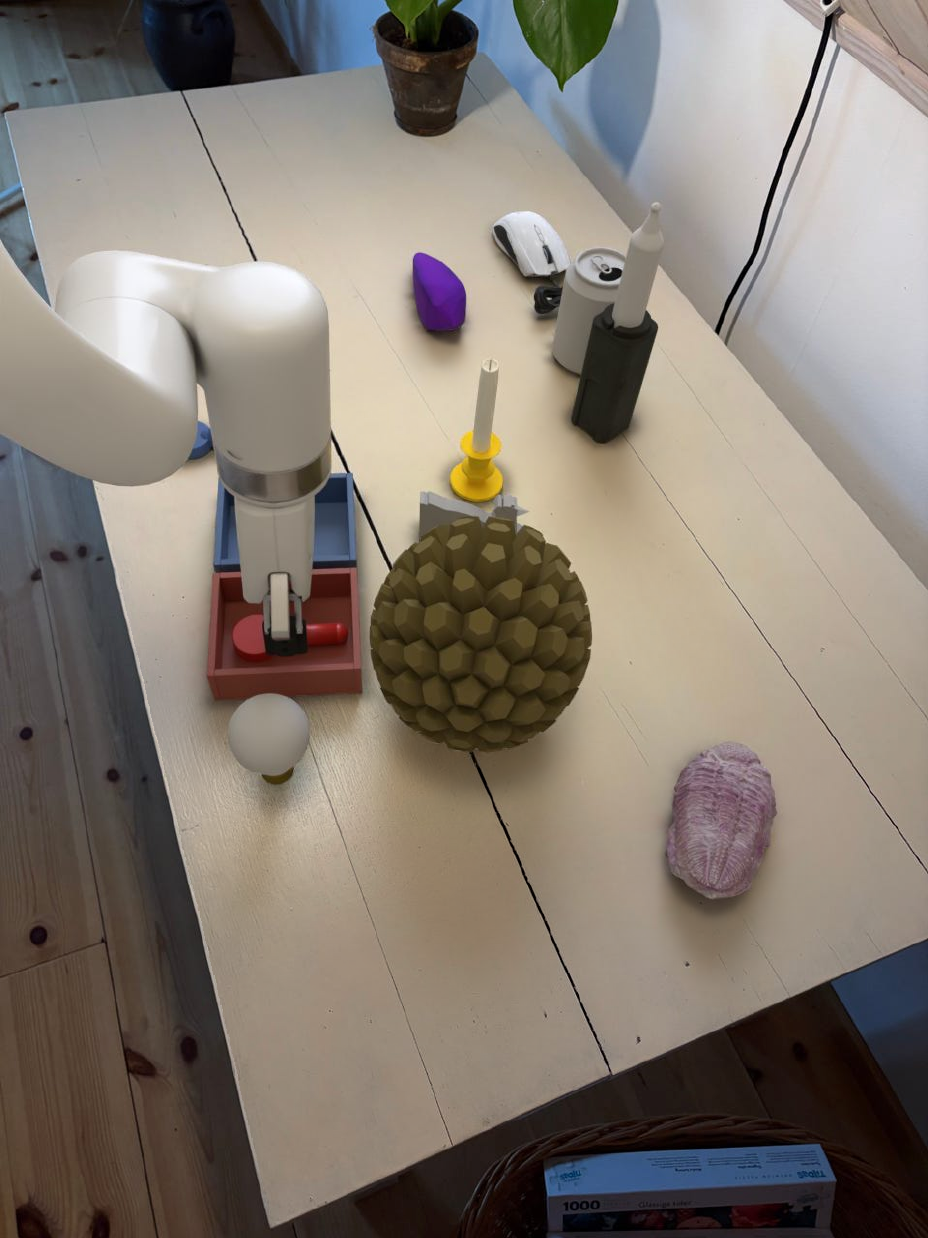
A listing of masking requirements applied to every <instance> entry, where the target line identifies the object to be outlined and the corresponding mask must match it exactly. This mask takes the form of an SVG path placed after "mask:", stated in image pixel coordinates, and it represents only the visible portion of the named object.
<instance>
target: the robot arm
mask: <svg viewBox="0 0 928 1238" xmlns="http://www.w3.org/2000/svg"><path fill="white" fill-rule="evenodd" d="M326 303H327V302H326V300H325V298H324V296H323V293H322V292H321V290H320V289H319V287H317V285H316V284H315V283H314V282H313V280H311V279H310V278H309V277H308V276H307V275H305V274H304V273H302V272H301V271H299V270H298V269H295V268H294V267H293V268H292V267H290V266H288V265H285V264H281V263H278V262H273V261H272V262H271V261H262V260H260V261H259V260H256V261H255V260H254V261H245V262H244V261H243V262H239V263H235V264H231V265H229V266H225V267H224V266H223V267H222V266H215V265H209V264H202V263H197V262H191V261H185V260H181V259H175V258H170V257H165V256H161V255H156V254H151V253H150V254H149V253H146V252H137V251H131V250H120V249H119V250H118V249H111V250H99V251H95V252H90V253H87V254H85V255H83V256H81V257H79V258H77V259H75V260H74V261H73V262H72V263H71V264H70V265H69V266H68V267H67V268H66V269H65V271H64V272H63V274H62V276H61V278H60V280H59V282H58V286H57V291H56V294H55V306H54V309H53V308H52V307H51V306H50V305H49V304H48V303H47V302H46V301H45V300H44V298H43V297H42V296H41V295H40V294H39V293H38V291H36V289H35V288H34V287H33V285H32V284H31V283H30V281H29V280H28V279H27V278H26V276H25V275H24V274H23V272H22V271H21V270H20V268H19V266H18V265H17V264H16V262H15V261H14V259H13V258H12V256H11V254H10V253H9V252H8V250H7V249H6V246H5V245H4V243H3V242H2V240H1V239H0V436H1V435H2V436H3V437H4V438H6V439H8V440H10V441H11V442H13V443H15V444H17V445H18V446H21V447H22V448H24V449H25V450H27V451H29V452H31V453H33V454H34V455H36V456H37V457H39V458H42V459H43V460H45V461H47V462H48V463H50V464H53V465H55V466H57V467H59V468H61V469H63V470H65V471H68V472H69V473H72V474H74V475H76V476H79V477H81V478H84V479H88V480H90V481H93V482H96V483H100V484H105V485H106V484H107V485H111V486H117V487H140V486H141V487H142V486H148V485H149V486H150V485H153V484H155V483H159V482H161V481H163V480H165V479H167V478H169V477H171V476H173V475H174V474H175V473H176V472H177V471H179V470H180V469H181V468H182V467H183V466H184V465H185V464H186V462H187V460H189V459H188V457H189V456H190V454H191V452H192V449H193V447H194V444H195V441H196V437H197V431H198V421H199V396H198V386H200V388H202V390H203V394H204V400H205V405H206V411H207V418H208V424H209V428H210V430H211V436H212V442H213V447H212V448H213V453H214V458H215V465H216V471H217V472H216V473H217V474H218V478H219V479H220V481H221V483H222V485H223V486H224V487H225V488H226V489H227V491H228V492H229V493H231V494H232V495H233V496H234V499H235V516H236V529H237V539H238V549H239V558H240V567H241V576H242V587H243V597H244V599H245V600H246V601H247V602H248V603H257V604H260V603H261V602H262V601H263V612H264V621H262V630H263V637H264V645H265V652H266V654H268V655H277V656H280V657H291V656H294V655H296V654H306V653H307V652H308V643H307V627H306V620H304V619H302V602H304V601H305V600H306V599H308V598H309V596H310V590H311V579H312V566H313V550H314V524H315V495H316V494H317V493H318V492H320V490H321V489H322V488H323V487H324V486H325V485H326V483H327V481H328V479H329V477H330V474H331V473H332V468H333V461H332V420H331V419H332V414H331V412H332V411H331V410H332V409H331V364H330V363H331V361H330V359H331V358H330V355H331V354H330V323H329V322H330V321H329V311H328V307H327V304H326ZM289 581H291V587H292V590H289ZM269 585H271V590H269ZM289 601H294V610H295V616H289Z"/></svg>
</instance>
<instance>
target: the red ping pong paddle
mask: <svg viewBox="0 0 928 1238" xmlns="http://www.w3.org/2000/svg"><path fill="white" fill-rule="evenodd" d="M262 621H264V615H251V616H248V617H245V618H243V619H242V620H240V621H239V622H238V623H237V624H236V626H235V627H234V629H233V632H232V640H233V644H234V648H235V651H236V653H237V654H238V655H239V656H240V657H241V658H242V659H244V660H246V661H249V662H263V661H266V660H269V659H270V658H272V657H273V656H275V655H268V654H266V652H265V645H264V637H263V630H262ZM306 627H307V643H308V645H324V644H340V643H343V642H344V641H345V640H346V639H347V637H348V630H347V628H346V626H345V625H343V624H341V623H323V624H306Z"/></svg>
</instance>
